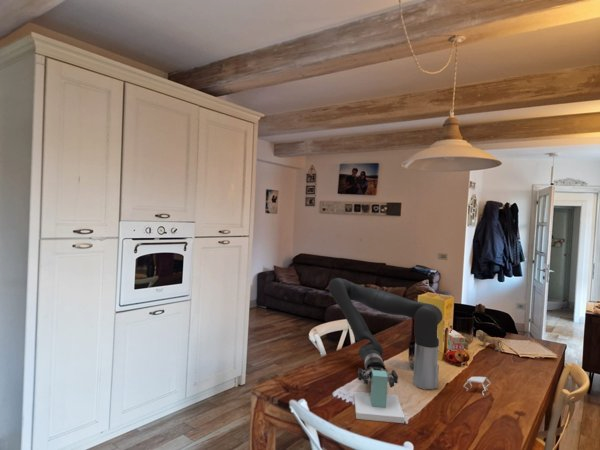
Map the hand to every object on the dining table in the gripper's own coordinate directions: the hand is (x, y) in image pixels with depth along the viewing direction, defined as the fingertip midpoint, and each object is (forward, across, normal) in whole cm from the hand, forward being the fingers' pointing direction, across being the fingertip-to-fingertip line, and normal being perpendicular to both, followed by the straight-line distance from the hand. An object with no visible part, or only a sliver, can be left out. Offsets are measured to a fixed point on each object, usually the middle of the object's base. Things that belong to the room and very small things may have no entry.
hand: (379, 383), depth 135 cm
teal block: (-2, 0, +8) cm, 8 cm away
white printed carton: (-68, +44, +10) cm, 81 cm away
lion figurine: (-81, +69, +10) cm, 107 cm away
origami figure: (-25, +44, +10) cm, 52 cm away
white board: (-2, 0, +10) cm, 10 cm away
